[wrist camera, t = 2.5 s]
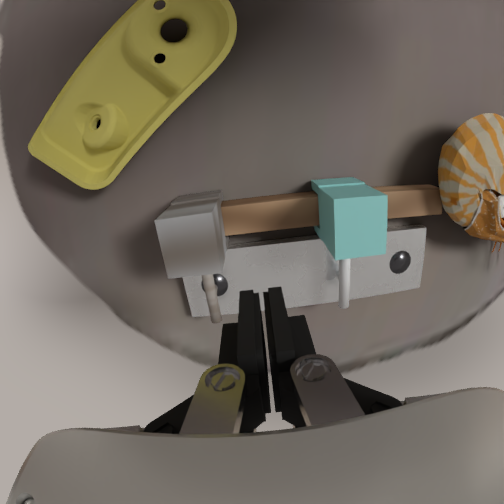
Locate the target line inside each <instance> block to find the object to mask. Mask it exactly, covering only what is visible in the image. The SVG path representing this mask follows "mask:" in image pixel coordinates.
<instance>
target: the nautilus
mask: <svg viewBox="0 0 504 504" xmlns="http://www.w3.org/2000/svg"><path fill="white" fill-rule="evenodd" d="M438 181H439V190H440V196H441V200H442V204H443V207H444V210H445V211H446V212H447V214H448V215H449V216H450V218H451V219H452V220H453V221H454V222H455V223H457V224H459V225H461V226H462V228H463V229H464V230H465V231H466V232H467V233H468V234H469V235H470V236H474V237H477V238H480V239H484V240H492V241H496V242H495V245H496V243H497V242H501V243H502V242H504V117H502V116H500V115H497V114H491V113H484V114H481V115H479V116H476V117H474V118H471V119H468V120H467V121H466V122H465V123H464V124H462V125H461V126H460V127H459V128H458V129H457V130H456V131H455V132H454V134H453V135H452V136H451V137H450V138H449V139H448V141H447V142H446V143H445V144H444V145H443V146H442V150H441V154H440V159H439V166H438ZM501 243H500V247H501ZM495 245H494V248H495ZM494 248H493V251H494ZM493 251H492V252H493ZM499 251H500V249H499Z"/></svg>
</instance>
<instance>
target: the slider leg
mask: <svg viewBox="0 0 504 504" xmlns="http://www.w3.org/2000/svg"><path fill="white" fill-rule="evenodd" d="M311 185H312V189H313V190H314V191H315V192H316V193H317V194H318V205H319V224H320V225H318V226H314V230H315V231H316V233H317V235H318V236H319V238H320V239H321V241H323V242H324V244H325V245H326V247H327V248H328V250H329V251H330V253H331V255H332V256H333V258H334V259H335V260H339V270H338V271H336V273H335V274H336V276H337V278H338V280H339V302H338V306H339V307H340V308H342V309H345V308H348V307H349V290H350V259H351V258H359V257H366V256H374V255H382V254H386V241H387V207H388V195H386V194H384V193H382V192H380V191H378V190H376V189H374V188H372V187H370V186H368V185H365V182H363V181H360V180H358V179H356V178H354V177H348V178H333V179H319V180H311Z"/></svg>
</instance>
